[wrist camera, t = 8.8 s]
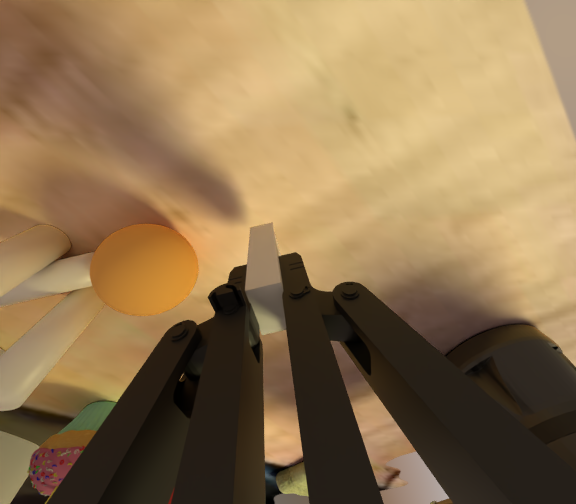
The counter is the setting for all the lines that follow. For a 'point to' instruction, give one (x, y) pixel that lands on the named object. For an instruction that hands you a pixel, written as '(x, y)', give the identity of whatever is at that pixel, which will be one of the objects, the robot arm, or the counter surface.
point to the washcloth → (293, 480)
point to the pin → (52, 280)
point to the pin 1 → (29, 254)
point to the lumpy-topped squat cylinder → (13, 464)
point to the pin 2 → (44, 346)
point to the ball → (144, 269)
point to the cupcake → (65, 448)
